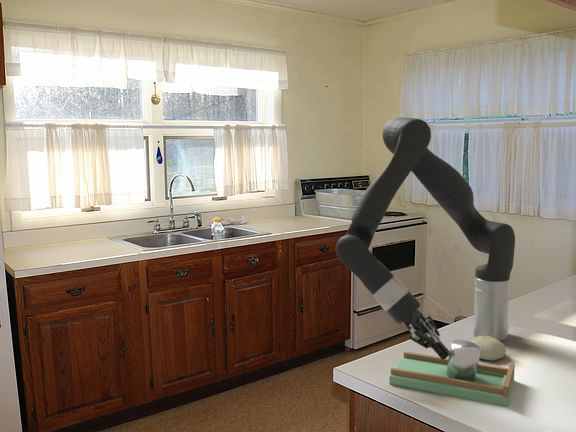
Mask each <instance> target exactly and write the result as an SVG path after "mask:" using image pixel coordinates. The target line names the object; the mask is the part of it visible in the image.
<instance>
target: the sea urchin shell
mask: <svg viewBox="0 0 576 432" xmlns="http://www.w3.org/2000/svg"><path fill="white" fill-rule="evenodd" d="M470 342H472V343H474V344H476V345H478V346H479V347H480V348H481V352H480V357H479V360H481V359H482V360H485V361H489V362H490V361H491V362H493V361H497V360H500V359H502V358H504V356H505V355H506V354H507V353H506V352H507V349H506V347H505V346H506V345H504V343H503V342H501V341H498V340H497V339H495V338H493V337H490V336H477V337H476V336H474V338H472V339H471V341H470Z"/></svg>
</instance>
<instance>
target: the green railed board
mask: <svg viewBox="0 0 576 432" xmlns="http://www.w3.org/2000/svg"><path fill="white" fill-rule="evenodd" d="M448 359H449V357H447V358H445V359H441V358H440V356H435V355H430V354H429V355H428V354H423V353H417V352H410V351H404V352H403V357H402V359H401V360H400V361H399V362H398V364H397V365H396V366H395V367H391V368H390V373H389V376H388V377H389V378H388V379H389V380H388V381H389V385H393V386H400V387H404V388H409V389H415V390H421V391H426V392H429V393H436V394H441V395H445V396H451V397H455V398H456V397H457V398H462V399H466V400H472V401H478V402H483V403H487V404H492V403H493V404H494V405H497V404H498V405H497V406H502V405H503V407H508V406H509V402H510V399H511V394H512V390H513V386H514V383H515V367H516V366H515V365H516V363H515V362H513V361H510V362H509V366H508V367H504V366H503V367H502V366H499V365H498V366H497V365H492V364H486V363H479V362H478V368H477V373H476V378H475V381H474V382H470V381H464V380H459V379H453V378H450V377H449V376H448V375H447V374H446V370H447V364H448Z"/></svg>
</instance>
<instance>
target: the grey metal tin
mask: <svg viewBox="0 0 576 432" xmlns="http://www.w3.org/2000/svg"><path fill="white" fill-rule="evenodd" d="M449 351H450V353H449V356H448V358H449V359H448V364H447V370H446V374H447V375H448V376H449V377H450V378H453V379H459V380H464V381H470V382H474V381H475V378H476V373H477V368H478V363H479V362H480V359H479V357H480V352H481V348H480V347H479V346H478V345H476V344H474V343H472V342H471V341H469V340H464V339H455V340H452V341H451V343H450V349H449Z"/></svg>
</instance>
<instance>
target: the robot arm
mask: <svg viewBox="0 0 576 432" xmlns="http://www.w3.org/2000/svg"><path fill="white" fill-rule="evenodd" d="M431 139H432V132H431V127H430V125H429V124H428V122H426V121H425V120H423V119H419V118H416V117H402V116H401V117H395V118H391V119H390V120H388V121H387V122H386V123H385V125H384V126H383V129H382V141H383V143H384V145H385V147H386V148H387V149H388V151H389V152H390V153H391V154H392V155H393V156H392V157H391V159H390V161H389V162H388V164H387V166H386V167H384V170H383V171H382V172H381V173H380V174H379V175H378V176H377V177H376V178H375V179H374V180H373V182H372V183H371V184H370V185H368V187H367V188H366V190H365V191H364V192H363V194H362V195H361V197H360V200H359V202H358V203H357V205H356V208H355V210H354V212H353V214H352V218H351V223H350V225H349V227H348V229H347V232H346V233H345V235H343V236H342V237H340V238H339V239H338V240H337V242H336V245H335V254H336V255H337V258H338V259H339V260H340V261H341V262H342V264H344V265H345V267H346V268H347V269H348V270H349V271H351V272H352V273H353V274H354V275H355V276H356V277H357V278H358V279H359V280H360V282H361V283H362V284H363V286H364V287H365V288H366V289H367V290H368V291H369V292H370V294H371V295H372V296H373V297H374V299H375V300H376V302H377V303H378V305H380V306H381V308H382V309H383V311H385V312H386V314H387V315H388V316H389V317H390V318H391V319H392V320H393V322H395V323H396V324H397V325H401V324H402V323H403V324H404V325H405V328H407V330H408V331H409V332H410V333H411V334H410V335H409V337H408V338H409V339H410V341H412V342H414V343H416V344H417V345H420V346H421V347H423V348H424V349H429V348H430V349H432V350H433V351H434V352H435V354H437V356H438V357H440V358H441V359H445V358H449V353H450V349H448V348H447V346H445V345H444V343H443V342H442V341H441V337H440V336H441V334H440V331H439V329H438V328H437V326H436V324H435V322H434V320H433V318H432V317H431V316H430V315H428V316H426V315H424V314H423V313H422V312H421V311H420V310H418V309H419V308H420V307H421V303H420V301H419V300H418V299H417V298H416V297H415V296H414V295H413V294H412V292H411V291H410V290H409V289H408V288H407V286H405V285H404V284H403V282H402V281H400V280H399V279H398V278H397V277H395V275H394V274H393V273H392V272H391V271H390V270H389V269H388V268H387V267H386V266H385V264H383V262H381V261H380V260H379V259H377V258H376V256H375V255H374V254H373V253H372V252H371V250H370V249H369V248H370V246H371V244H372V241H373V239H374V236H375V233H376V231H377V230H378V228H379V226H380V224H381V222H382V221H383V219H384V217H385V214H386V213H387V211H388V208H389V207H390V205H391V203H392V201H393V199H394V198H395V195H396V194H397V192H398V190H399V189H400V188H401V186H402V185H403V183H404V182H405V181H406V179H407V178H408V176H409V175H410V173H411V172H412V174H413V175H414V176H415V177H416V179H417V180H418V181H419V182H420V183H421V185H422V186H423V187H424V188H425V189H426V190H427V191H428V192H429V194H430V195H431V197H432V198H433V199H434V200H435V201H436V203H438V205H439V206H440V207H441V208H442V209H443V210H444V211H445V212H446V213H447V214H448V216H449V217H450V218H451V219H452V220H453V221H454V222H455V224H456V226H458V228H459V229H460V230H461V232H462V233H463V235H464V237H465V238H466V239H467V240H468V243H470V245H471V246H472V247H473V249H475V250H476V251H478V252H481V253H484V254H487V255H488V259H487V263H485V264H480V265H477V267H476V268H475V270H474V271H475V273H474V274H475V275H474V277H475V278H474V309H473V310H474V311H473V313H474V314H473V315H474V316H473V336H474V337H477V336H490V337H493V338H495V339H497V340H498V341H500V342H501V341H502V342H503V341H505V340H507V339H508V338H509V337H508V335H509V317H510V316H509V312H510V311H509V309H510V307H509V306H510V281H511V273H512V270H513V267H514V258H515V250H516V249H515V247H516V234H515V230H514V229H513V227H512V226H511V225H509V224H507V223H504V222H498V221H493V220H488V219H487V218H485V217H484V216H483V215H482V214H481V213H480V212H479V211H478V209H476V206H475V204H474V203H475V199H474V191H473V190H472V189H473V188H472V187H471V186H470V184H469V182H467V180H466V179H465V178H464V177H463V176H462V173H460V172H459V171H458V170H457V169H456V168H454V167H453V166H452V165H451V164H450V163H448V162H446V161H445V160H443V159H442V158H441V157H439V156H437V155H436V154H434V153H433V152H432V151H431V150H430V149H429V148H428V147H429V145H430V143H431Z"/></svg>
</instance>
